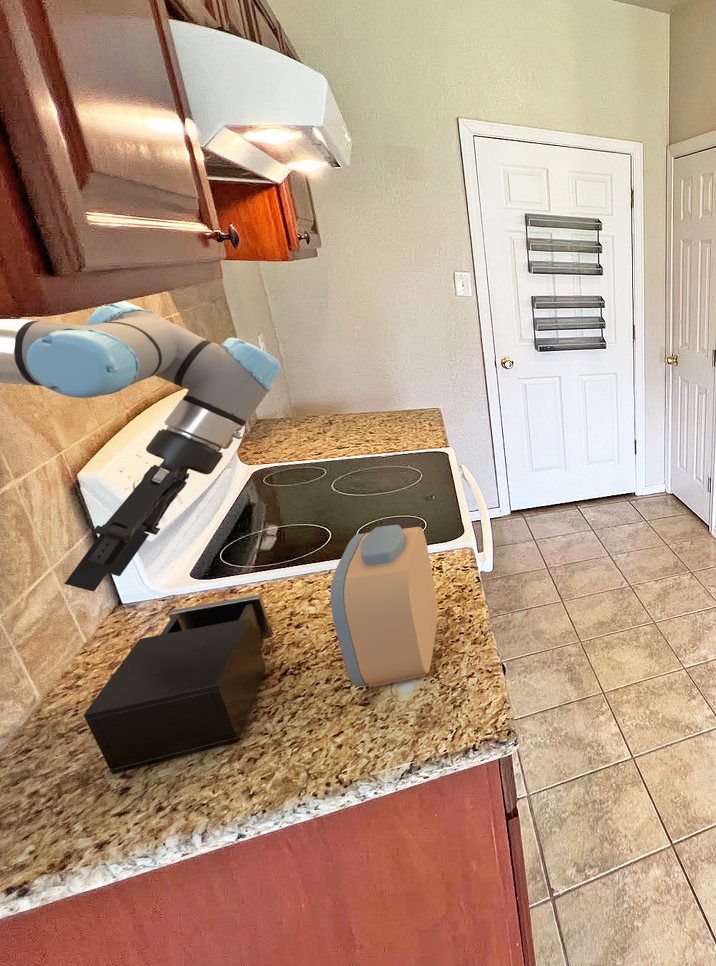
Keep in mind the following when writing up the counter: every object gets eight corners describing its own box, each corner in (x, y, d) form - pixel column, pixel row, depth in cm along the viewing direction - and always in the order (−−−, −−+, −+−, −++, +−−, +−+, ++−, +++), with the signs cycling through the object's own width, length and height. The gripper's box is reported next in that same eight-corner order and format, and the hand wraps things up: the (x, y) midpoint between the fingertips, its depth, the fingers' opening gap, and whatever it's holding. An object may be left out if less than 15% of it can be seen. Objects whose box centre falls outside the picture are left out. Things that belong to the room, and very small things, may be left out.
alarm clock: (380, 626, 99) (354, 515, 92) (440, 616, 103) (420, 508, 95) (355, 710, 82) (320, 580, 74) (428, 694, 85) (402, 568, 77)
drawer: (195, 635, 95) (181, 595, 92) (279, 619, 99) (267, 581, 96) (148, 713, 79) (129, 668, 76) (250, 690, 83) (235, 646, 81)
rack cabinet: (161, 692, 84) (139, 638, 80) (266, 669, 89) (250, 617, 85) (112, 775, 71) (82, 714, 67) (238, 742, 76) (217, 684, 72)
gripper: (217, 448, 73) (107, 605, 67) (232, 455, 93) (148, 576, 87) (144, 418, 69) (20, 583, 63) (176, 432, 89) (84, 557, 83)
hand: (94, 579), depth 75 cm, fingers open, 13 cm apart
